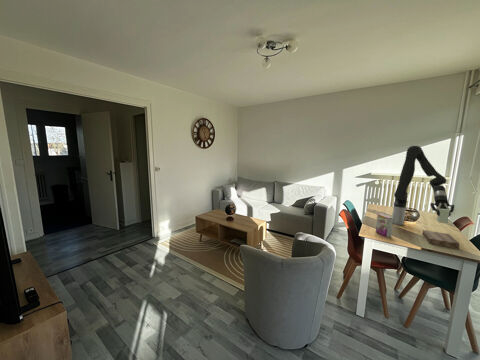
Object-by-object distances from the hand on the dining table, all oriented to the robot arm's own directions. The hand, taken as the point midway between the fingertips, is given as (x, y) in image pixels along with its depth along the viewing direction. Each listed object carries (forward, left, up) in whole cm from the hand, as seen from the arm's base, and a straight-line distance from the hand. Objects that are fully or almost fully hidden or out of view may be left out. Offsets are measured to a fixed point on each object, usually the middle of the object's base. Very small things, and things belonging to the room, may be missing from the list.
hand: (443, 215), depth 156 cm
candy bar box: (-37, -5, -21) cm, 43 cm away
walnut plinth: (0, +2, -21) cm, 21 cm away
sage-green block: (0, +2, -5) cm, 6 cm away
